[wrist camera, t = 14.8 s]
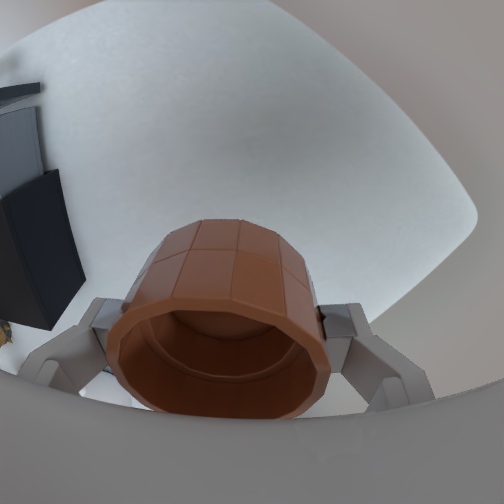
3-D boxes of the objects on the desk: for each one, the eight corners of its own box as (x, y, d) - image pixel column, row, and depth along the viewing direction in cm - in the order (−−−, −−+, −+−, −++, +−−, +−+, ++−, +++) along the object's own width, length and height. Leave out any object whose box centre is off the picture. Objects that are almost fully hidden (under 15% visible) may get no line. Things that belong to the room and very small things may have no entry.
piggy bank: (87, 345, 41) (52, 421, 28) (148, 381, 44) (127, 459, 31) (73, 372, 46) (45, 435, 33) (124, 402, 49) (105, 466, 36)
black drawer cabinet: (-14, 182, 27) (-61, 213, 18) (58, 169, 26) (1, 203, 18) (15, 273, 34) (-20, 313, 26) (86, 280, 34) (51, 331, 25)
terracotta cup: (135, 214, 10) (73, 290, 6) (318, 212, 10) (352, 297, 6) (165, 339, 13) (141, 420, 9) (301, 343, 13) (311, 430, 9)
